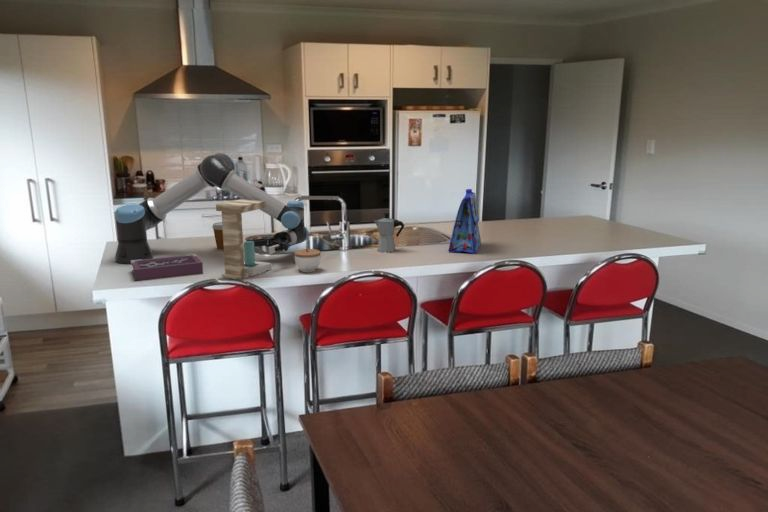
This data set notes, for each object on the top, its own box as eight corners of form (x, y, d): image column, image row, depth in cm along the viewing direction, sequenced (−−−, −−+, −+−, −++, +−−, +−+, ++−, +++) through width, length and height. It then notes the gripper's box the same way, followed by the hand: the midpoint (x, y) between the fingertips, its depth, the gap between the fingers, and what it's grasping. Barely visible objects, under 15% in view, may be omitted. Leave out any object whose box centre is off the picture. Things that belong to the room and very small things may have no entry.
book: (196, 265, 246) (195, 254, 245) (203, 274, 232) (202, 262, 231) (131, 272, 235) (130, 260, 234) (135, 282, 221) (133, 269, 220)
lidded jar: (296, 274, 231) (296, 251, 229) (293, 267, 241) (292, 245, 239) (323, 272, 234) (322, 250, 232) (318, 266, 244) (318, 244, 242)
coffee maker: (370, 251, 271) (370, 213, 266) (376, 247, 279) (376, 210, 275) (401, 254, 266) (401, 215, 262) (406, 249, 275) (406, 212, 270)
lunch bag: (476, 254, 267) (479, 192, 260) (447, 252, 270) (449, 190, 263) (481, 244, 287) (484, 186, 280) (454, 243, 291) (456, 185, 284)
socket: (253, 276, 228) (253, 270, 228) (229, 272, 233) (228, 266, 232) (271, 269, 239) (271, 263, 238) (247, 265, 244) (247, 260, 243)
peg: (247, 272, 233) (245, 243, 231) (244, 270, 237) (242, 241, 234) (256, 271, 235) (255, 242, 232) (253, 269, 239) (252, 240, 236)
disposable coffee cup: (228, 251, 270) (227, 225, 267) (209, 250, 272) (208, 225, 269) (237, 246, 279) (236, 222, 276) (219, 245, 281) (217, 221, 278)
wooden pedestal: (243, 280, 222) (239, 206, 216) (218, 276, 227) (214, 204, 220) (268, 270, 237) (265, 201, 230) (244, 267, 242) (240, 199, 235)
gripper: (309, 250, 252) (281, 261, 233) (261, 245, 262) (231, 255, 243) (308, 233, 250) (280, 243, 231) (260, 228, 260) (230, 237, 241)
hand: (255, 249), depth 237 cm, fingers open, 13 cm apart
